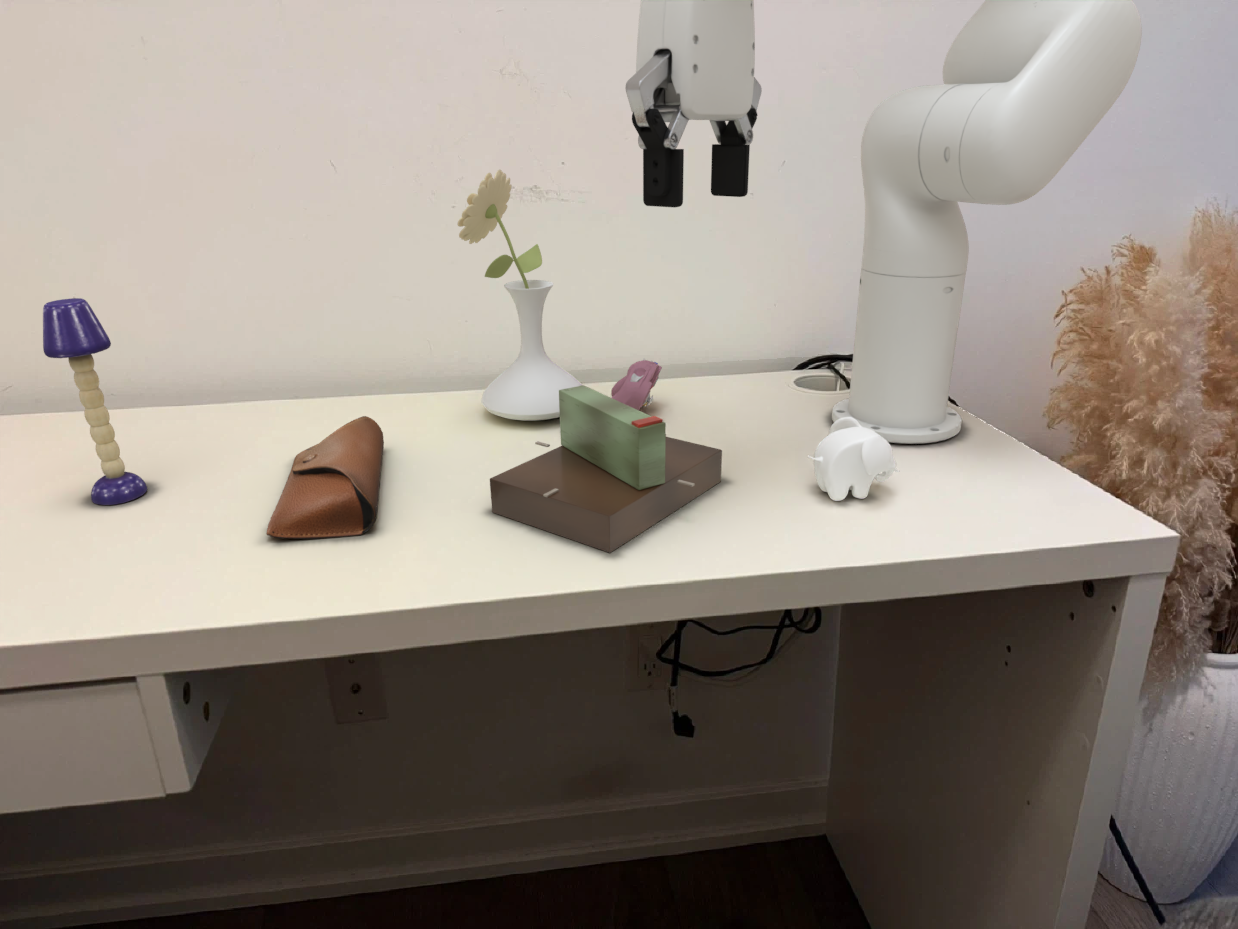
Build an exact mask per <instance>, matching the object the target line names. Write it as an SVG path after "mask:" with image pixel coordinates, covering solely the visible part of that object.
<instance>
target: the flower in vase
mask: <svg viewBox="0 0 1238 929" xmlns="http://www.w3.org/2000/svg"><path fill="white" fill-rule="evenodd" d="M512 187H513V185H512V184H511V178H510V177H507V174H506V173H505V172H503V171H502V170H501V169H498V170H496V172H495V175H494V178H493V175H492V173H491V172H488V173H486V174H485V176H484V179H482V180H481V181H480V183H479V185H478V188H477V193H474V192H472V193H469V195H468V196H467V198H466V202H467V204H468V205H467V207H466V208H465V209H463V211H462V213H461V217H460V218H459V219H458V220H457V227H463V228H462V229H461V231H460V232H459V233H458V238H459V239H460V240H462V241H464V242H467V241H468V244H469V245H473V244H478V243H479V242H480V241H481V240H482V239H485V238H486V237H487V236H488V235H489V233H490V232H494V231H495V229H496V228H497V225H499V228H500V229H501V231H502V233H503V236H504V238H505V240H506V242H507V246H508V248H509V251H510V254H511V256H510V255H508V254H502V255H499V256H498V257H497V258H495V259H494V260H493V261H492V262H490V264H489V265H488V267H487V268H486V271H485V273H484V278H488V279H489V278H490V279H499V278H502V277H503V276H504V275H505V274H506V273H507V272H508V271H509V269H510V267H511V266H512V265H513V262H514V263H515V267H516V268H517V270H518V273H519V275H520V277H521V279H522V280H514V281H509V282H506V283H505V284H504V285H503V287H504V289H505V290H506V291H507V292H508V293H509V295H510V297H511V298H512V300H513V303H514V305H515V308H516V312H517V317H518V323H519V332H520V348H519V353H518V355H517V357H516V358H515V359H514V361H513V362H512V363H511V364H510V365H509V366H508V367H506V368H505V369H504V370H503V371H502V372H501V373H500V374H499V375H497V376H496V377H495V378H494V379H493V380H492V381H491V382H490V383H489V385H487V387H486V388H485V389H484V391H483V393H482V396H481V399H480V401H481V404H482V406H483V407H484V408H485V409H486V411H487V412H489V413H490V414H492V415H495V416H498V417H500V418H501V417H502V418H505V419H508V420H515V421H529V422H530V421H545V420H551V419H557V418H560V410H559V390H562V389H567V388H572V387H577V386H582V385H583V384H582V383H581V381H579V379H577V378H576V377H575V376H574V375H572V374H571V373H570V372H568V371H567V370H565V369H564V368H563V367H562V366H560V365H558V364H557V363H556V362H554V361H553V360H552V359H551V358H550V357H549V356H548V355H547V354H548V353H547V352H546V351H545V346H544V342H543V314H544V306H545V304H546V300H547V297H548V294H549V292H550V291H551V290H552V288H553V286H554V282H552V281H549V280H545V279H527V278H526V275H525V274H527V273H528V274H529V273H530V272H532V271H535V270H537V269H539V268H541V266H542V264H543V258H542V253H541V249H540V246H539V244H538V243H535V245H534V246H532V247H531V248H530V249H528V250H526V251H525V252H523V253H522V254H520V255H519V256H518V257H517V256H516V253H515V249H514V247H513V244H512V241H511V238H510V236H509V233H508V231H507V229H506V227H505V226H504V223H503V221H502V218H503V215H504V214H505V213H506V211H507V209H508V204H507V203H508V202H509V200H510V199H511V191H512Z"/></svg>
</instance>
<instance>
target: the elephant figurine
mask: <svg viewBox="0 0 1238 929" xmlns="http://www.w3.org/2000/svg"><path fill="white" fill-rule="evenodd" d="M806 457H807V458H808V459H811V460H813V469H814V470H813V471H814V475H815V479H816V482H817V485H818V487H819V488H820V490H821V491H822V492H824V493H827V494H828V497H829V498H830V500H832V501H835V502H840V501H843V500H845V498H847V496H848V494H849V491H851V495H852V496H853V498H856V499H860V500H861V499H866V498H867V496H868V495H869V492H870V488H871V485H872V483H873V482H874V480H876V481H877V482H879V483H883V482H885V481H886V480H888V479H889V478H890V477H891V476H892V475H893V474H894V472H896V473H899V472H900V470H898V469H897V462H896V459H895V457H894V452H893V448H892V446H891V443H890V442H888V441H887V440H886V439H884V438H883V437H882V436H880V435H879V434H877V433H876V432H875V431H873V430H871V429H868V428H865V427H862V426H861V425H860V424H859V422H858V421H857V420H856V419H854V418H852V417H843V418H840V419H838V420H836V421H835V422H833V423H832V424H831V425H830V427H829V430H828V435H826V436H825V437H824V438H823V439H822V440H821V441H820V442H819V443H818V445H817V446H816V448H815V451H814V454H813V457H812V456H811V455H809V454H808V455H807V456H806Z"/></svg>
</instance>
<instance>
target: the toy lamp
mask: <svg viewBox="0 0 1238 929" xmlns="http://www.w3.org/2000/svg"><path fill="white" fill-rule="evenodd" d="M42 343H43V344H42V348H43V353H44V355H45V356H46V357H47V358H51V359H68V364H69V367H70V369H71V370H72V371H73V372H74V373H73V381H74V383H75V384H74V385H75V386H76V387H77V388H78V389H77V390H79V392H78V397H79V401H80V403H81V406H83V408H84V413H83V414H84V418H85V421H86V422H87V424H88V425H89V426H90V427H89V434H90V437H91V439H92V441H93V442H94V443H95V452H96V455H97V457H98V458H99V459H100V468H101V471H102V473H103V474H104V475H103V476H101V477H100V478H99V479H97V480H96V481H95V482H94V484H93V485H92V488H91V492H90V499H91V502H92V503H93V504H95V505H100V506H113V505H119V504H124V503H127V502H130V501H134V500H136V499H138V498H140V497H142V496H143V495H144V494H145V493H147V491H148V485H147V483H146V482H145V481H144V479H143V478H142V477H141V476H139V475H138V474H136V473H133V472H129V471H126V466H125V462H124V460H123V459H122V458H121V457H120V456H121V449H120V445H119V443H118V442H117V440H115V437H116V432H115V428H114V427H113V425H112V423H111V422H110V418H111V417H110V412H109V410H108V408H107V406H105V396H104V392H103V390H102V389H101V388H100V387H99V386H100V377H99V375H98V373H97V372H96V370H95V369H94V368H95V359H94V357H93V354H98V353H100V352H104V351H107V350H109V348H111V345H112V342H111V340H110V338H109V336H108V334H107V332H106V330H105V328H104V327H103V325H102V323H101V321H99V318H98V317H97V315H96V314H95V311H94V310H93V308H92V306H91V305H90V304H89V303H88V301H87V300H86V299H84V298H81V297H79V298H78V297H76V298H63V299H56V300H51V301H48V302H46V303H45V304H44V305H43V308H42Z"/></svg>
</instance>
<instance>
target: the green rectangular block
mask: <svg viewBox="0 0 1238 929" xmlns="http://www.w3.org/2000/svg"><path fill="white" fill-rule="evenodd" d="M559 410H560V417H559V429H560V430H559V433H560V446H564V447H566V448H568V449H569V450H571V451H573V452H574V453H576V454H578V455H579V456H581V457H583V458H585V459H586V460H588V461H590V462H591V463H593V464H595V465H597V466H598V467H600V468H602V469H603V470H605V471H607V472H609V473H610V474H612V475H614V476H615V477H617V478H619V479H621V480H622V481H624V482H626V483H627V484H629V485H631V486H633V487H634V488H636V489H638V490H642V489H646V488H649V487H653V486H656V485H660V484H663V483H665V436H666V437H667V433H666V427H667V425H666V424H667V422H665V421H664V420H663V419H662V418H661V417H658V416H656V415H651V414H650V415H649V414H648V413H645V412H643V411H641V410H637V409H634V408H632V407H630V406H628V405H626V404H623V403H621V402H619V401H617V400H615V399H612V398H611V396H608V395H606V394H604V393H602V392H599V391H597V390H594V389H592V388H591V387H588V386H586V385H584V384H582V386H577V387H572V388H567V389H562V390H559Z"/></svg>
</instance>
